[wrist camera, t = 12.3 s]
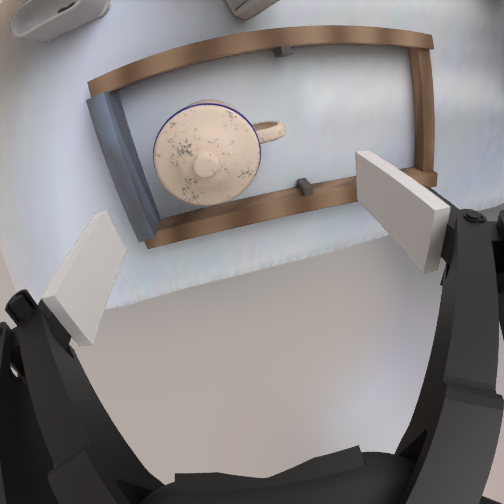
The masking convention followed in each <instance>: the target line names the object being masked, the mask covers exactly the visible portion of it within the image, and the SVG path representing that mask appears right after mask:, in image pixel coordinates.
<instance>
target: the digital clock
mask: <svg viewBox="0 0 504 504" xmlns="http://www.w3.org/2000/svg"><path fill="white" fill-rule="evenodd" d="M277 1H279V0H226V2H227V4H228V5H229V7H230V9H231V11H232V12H233V14H234V15H235V16H237V17H239V18H242V19H244V20H248V19H250V18H252V17H254V16H256V15H257V14H259V13H260V12H262V11H263V10H265V9H266V8H268V7H269V6H271V5H273V4H274V3H276V2H277Z"/></svg>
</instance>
